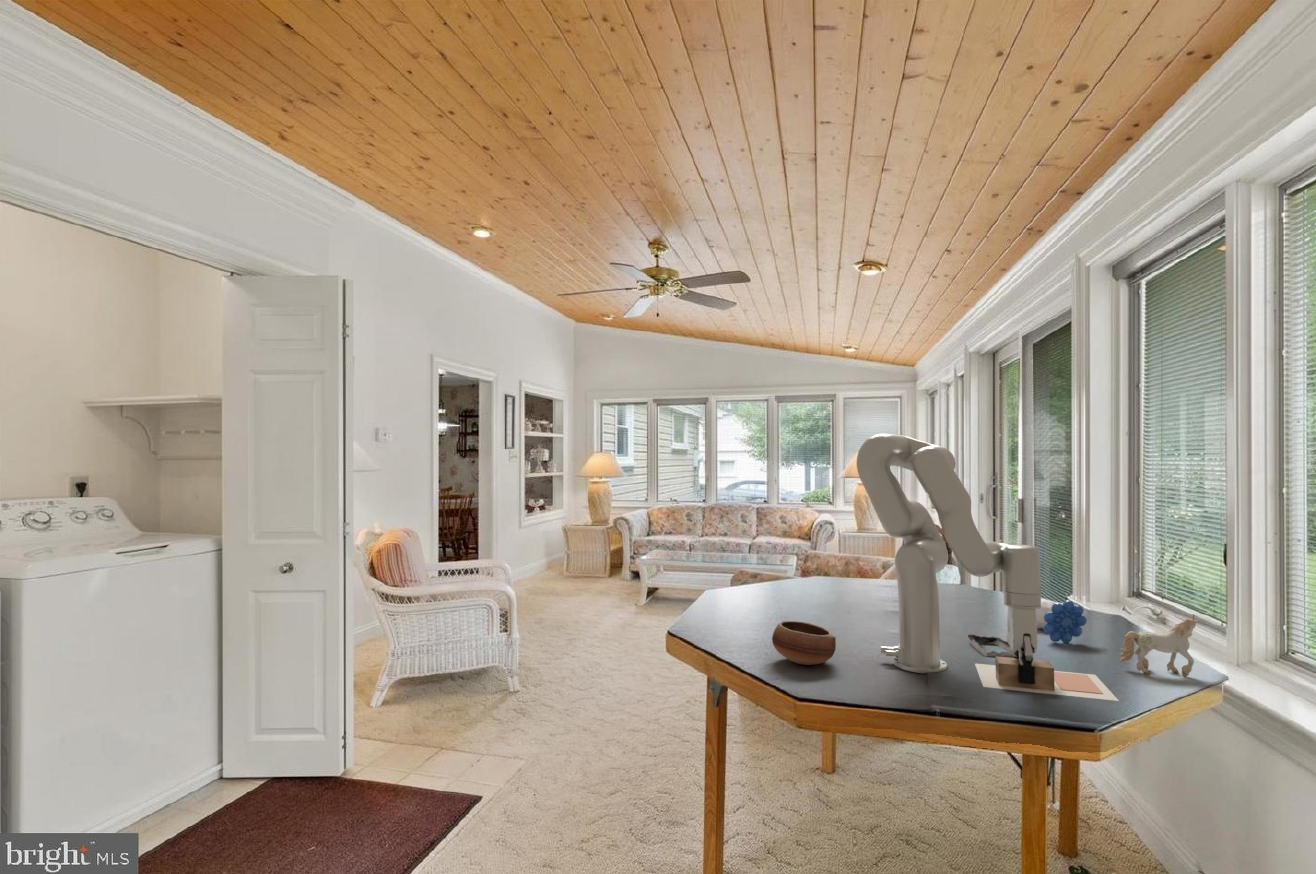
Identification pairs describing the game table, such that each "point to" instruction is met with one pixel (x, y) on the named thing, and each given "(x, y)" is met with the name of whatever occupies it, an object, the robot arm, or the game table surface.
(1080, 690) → the rubber mat
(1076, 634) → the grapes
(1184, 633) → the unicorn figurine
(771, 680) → the game table surface
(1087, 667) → the game table surface
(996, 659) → the walnut block
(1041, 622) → the perfume bottle
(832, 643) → the bowl
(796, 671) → the game table surface
